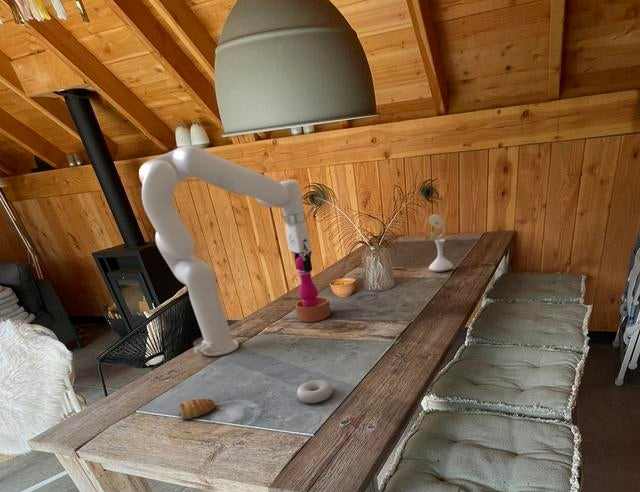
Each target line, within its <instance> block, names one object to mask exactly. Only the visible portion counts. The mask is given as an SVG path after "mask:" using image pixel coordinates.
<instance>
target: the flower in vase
mask: <svg viewBox="0 0 640 492" xmlns="http://www.w3.org/2000/svg"><path fill="white" fill-rule="evenodd" d="M428 223H429V224H430V225H431V226H432V227H434V229H433V230H434V231H430V233H429V235H428V236H430V237H432V238H435V237H436V239H435V240H434V243H435V244H436V248H437V257H436V258H435V260H433V262H431V263H430V265H429V266H428V269H429V270H430V271H431V272H437V273H439V272H446V271H449V270H451V269H452V268H453V265H454V264H453V263H452V262H451V261H450V260H448V259H447V258H446V257H445V256H444V253H443V251H444V250H443V248H444V243H445V241H446V239H443V238H441V239H440V237H442V236H443V235H444V233H441V234H439V235H438V236H437V233H436V229H439V230H441V229H443V228H445V220H444V217H442V216H441V215H439V214H431V215H430V216H429V217H428Z"/></svg>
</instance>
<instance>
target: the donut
mask: <svg viewBox="0 0 640 492" xmlns="http://www.w3.org/2000/svg"><path fill="white" fill-rule="evenodd" d="M332 394H333V385H332V384H331V383H330V382H328V381H327V380H323V379H313V380H308V381H306V382H303V383H302V384H301V385H299V387H298V388H297V391H296V396H297V398H298V400H300V401H301V402H302V403H306V404H317V403H318V404H319V403H321V402H324V401H326V400H327V399H329V398H330V397H331V396H332Z"/></svg>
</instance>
